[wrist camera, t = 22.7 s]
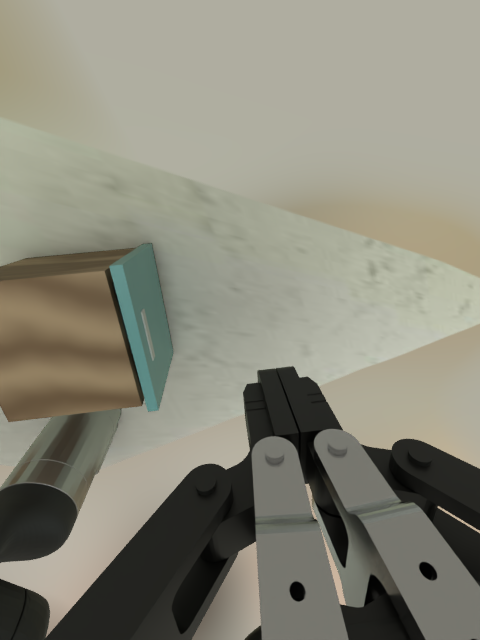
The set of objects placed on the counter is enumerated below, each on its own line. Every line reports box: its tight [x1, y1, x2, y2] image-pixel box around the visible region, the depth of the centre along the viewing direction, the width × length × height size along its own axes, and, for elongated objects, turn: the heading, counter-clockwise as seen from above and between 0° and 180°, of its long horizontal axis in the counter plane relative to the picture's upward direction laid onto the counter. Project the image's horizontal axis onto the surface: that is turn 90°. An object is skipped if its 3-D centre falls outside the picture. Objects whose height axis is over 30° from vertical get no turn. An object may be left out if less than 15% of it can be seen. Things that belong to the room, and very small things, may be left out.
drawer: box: [109, 243, 173, 411], centre depth 35 cm, size 17×15×13 cm
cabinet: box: [0, 248, 144, 422], centre depth 35 cm, size 16×15×14 cm
